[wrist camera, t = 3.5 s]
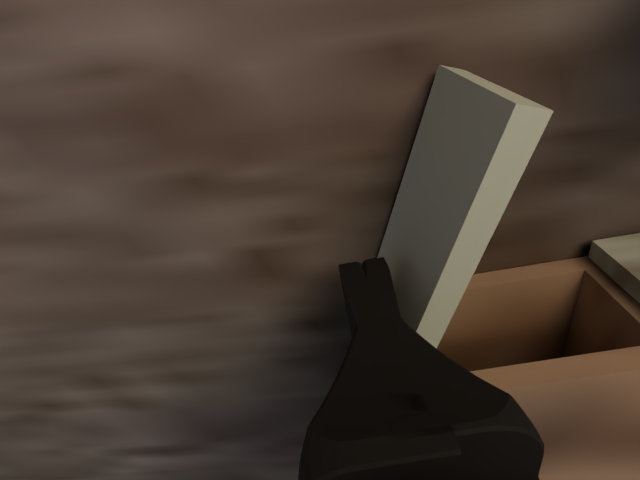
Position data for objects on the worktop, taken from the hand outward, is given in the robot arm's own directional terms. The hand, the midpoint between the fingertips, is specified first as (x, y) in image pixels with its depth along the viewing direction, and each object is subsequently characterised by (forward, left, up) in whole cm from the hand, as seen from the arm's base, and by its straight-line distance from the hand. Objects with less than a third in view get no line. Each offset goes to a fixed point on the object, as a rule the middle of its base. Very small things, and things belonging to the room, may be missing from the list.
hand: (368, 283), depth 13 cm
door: (+2, -2, -3) cm, 4 cm away
